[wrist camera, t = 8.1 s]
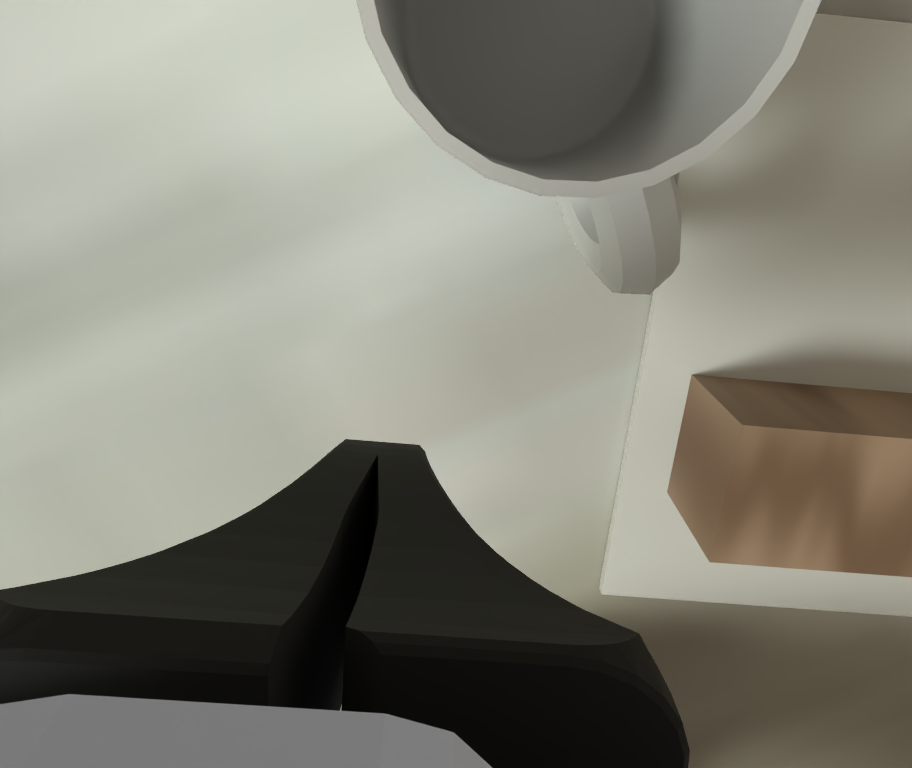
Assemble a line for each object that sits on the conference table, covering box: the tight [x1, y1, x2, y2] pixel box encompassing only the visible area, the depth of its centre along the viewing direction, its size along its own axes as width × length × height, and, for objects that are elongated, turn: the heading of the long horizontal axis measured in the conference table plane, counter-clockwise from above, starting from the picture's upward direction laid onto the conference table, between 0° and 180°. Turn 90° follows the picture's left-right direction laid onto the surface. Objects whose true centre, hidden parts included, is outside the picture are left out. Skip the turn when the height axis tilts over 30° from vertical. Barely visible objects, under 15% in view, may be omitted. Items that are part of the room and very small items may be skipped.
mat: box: [599, 13, 912, 617], centre depth 22 cm, size 18×16×1 cm
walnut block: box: [667, 375, 912, 577], centre depth 21 cm, size 4×4×8 cm
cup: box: [356, 0, 821, 294], centre depth 15 cm, size 7×10×9 cm
